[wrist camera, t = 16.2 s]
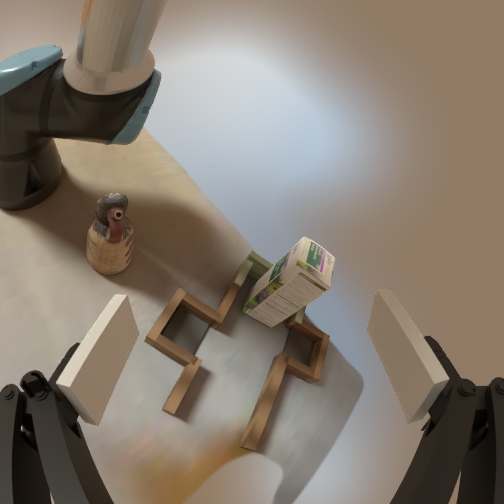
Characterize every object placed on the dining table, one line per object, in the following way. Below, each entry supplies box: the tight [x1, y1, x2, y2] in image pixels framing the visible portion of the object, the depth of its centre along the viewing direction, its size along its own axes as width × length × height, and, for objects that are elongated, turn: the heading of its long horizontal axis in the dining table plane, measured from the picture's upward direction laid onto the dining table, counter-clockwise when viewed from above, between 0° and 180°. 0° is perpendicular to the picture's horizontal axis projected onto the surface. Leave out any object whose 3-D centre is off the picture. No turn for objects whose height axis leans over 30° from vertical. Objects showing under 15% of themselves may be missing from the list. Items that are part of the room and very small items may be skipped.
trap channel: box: [145, 251, 330, 451], centre depth 37 cm, size 27×25×4 cm
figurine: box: [86, 193, 133, 275], centre depth 32 cm, size 7×7×12 cm
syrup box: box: [242, 237, 335, 328], centre depth 39 cm, size 6×6×14 cm
